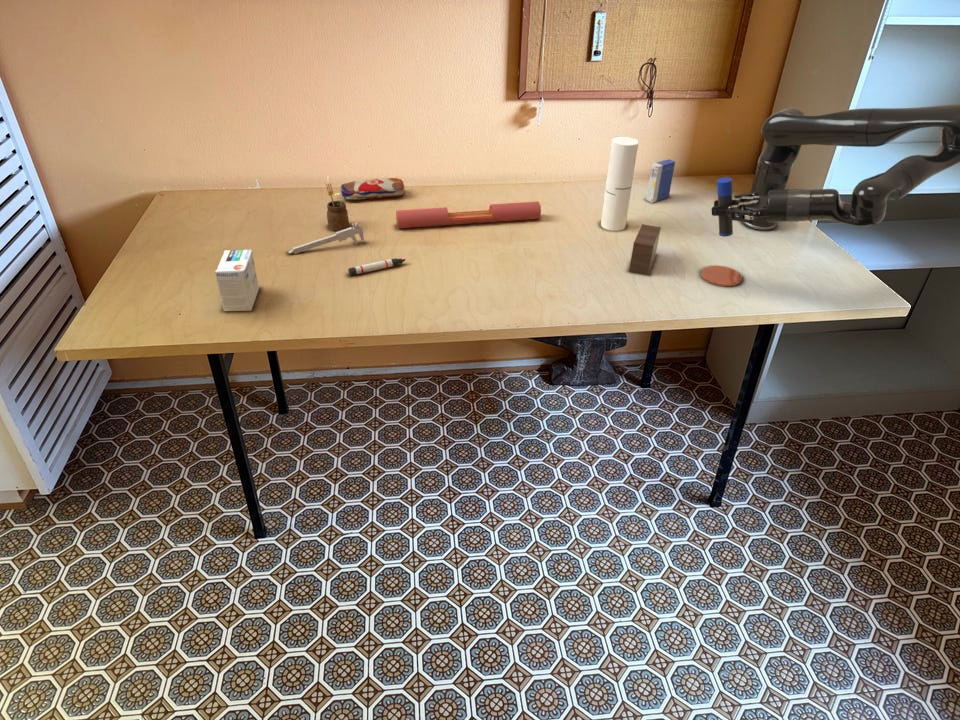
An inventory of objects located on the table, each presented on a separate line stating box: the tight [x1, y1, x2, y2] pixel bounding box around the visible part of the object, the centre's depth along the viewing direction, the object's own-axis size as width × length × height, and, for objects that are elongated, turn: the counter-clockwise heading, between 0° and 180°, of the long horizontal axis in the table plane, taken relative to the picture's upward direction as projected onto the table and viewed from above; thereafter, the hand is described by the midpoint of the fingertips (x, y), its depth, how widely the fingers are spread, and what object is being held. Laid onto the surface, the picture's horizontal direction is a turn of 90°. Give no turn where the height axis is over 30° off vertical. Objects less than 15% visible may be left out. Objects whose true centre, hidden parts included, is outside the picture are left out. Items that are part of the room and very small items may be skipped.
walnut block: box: [628, 223, 662, 276], centre depth 185 cm, size 12×5×8 cm, turn 159°
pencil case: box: [339, 177, 406, 201], centre depth 218 cm, size 11×20×5 cm, turn 89°
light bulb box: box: [214, 249, 260, 312], centre depth 165 cm, size 11×7×11 cm, turn 5°
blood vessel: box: [395, 200, 542, 229], centre depth 204 cm, size 42×5×5 cm, turn 101°
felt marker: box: [716, 177, 734, 238], centre depth 172 cm, size 3×12×12 cm
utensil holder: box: [325, 182, 350, 232], centre depth 198 cm, size 6×6×12 cm
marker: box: [347, 257, 406, 276], centre depth 181 cm, size 15×2×2 cm, turn 117°
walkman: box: [645, 158, 676, 204], centre depth 219 cm, size 8×3×12 cm, turn 127°
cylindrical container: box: [600, 136, 639, 232], centre depth 199 cm, size 7×7×25 cm
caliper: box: [287, 221, 365, 255], centre depth 189 cm, size 20×1×6 cm, turn 112°
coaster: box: [701, 265, 743, 287], centre depth 182 cm, size 10×10×1 cm
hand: (713, 207), depth 173 cm, fingers closed on felt marker, 3 cm apart
